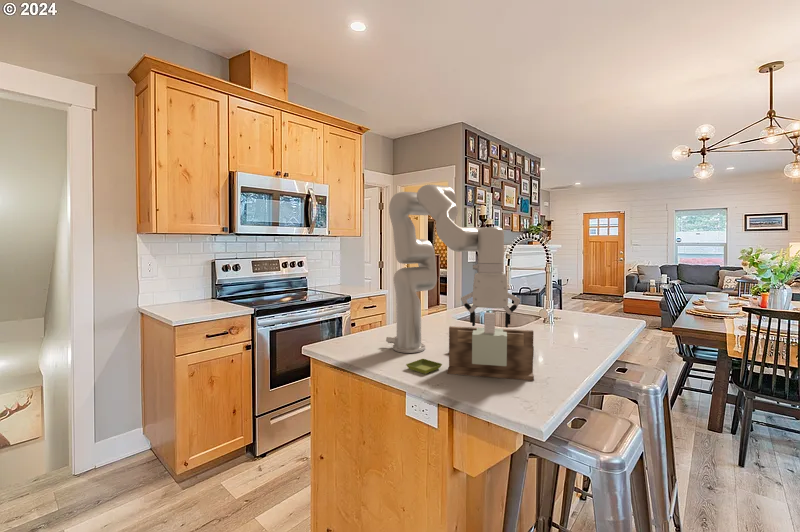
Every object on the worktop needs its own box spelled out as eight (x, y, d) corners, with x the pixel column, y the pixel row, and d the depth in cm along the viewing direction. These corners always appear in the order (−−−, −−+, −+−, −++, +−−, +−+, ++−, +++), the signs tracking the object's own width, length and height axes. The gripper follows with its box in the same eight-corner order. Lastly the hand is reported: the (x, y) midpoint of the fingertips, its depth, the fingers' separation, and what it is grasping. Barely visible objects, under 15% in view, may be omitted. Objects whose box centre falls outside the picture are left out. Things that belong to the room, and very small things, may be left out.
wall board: (447, 373, 126) (447, 330, 125) (449, 368, 131) (449, 326, 130) (533, 380, 120) (534, 334, 119) (532, 374, 125) (533, 330, 124)
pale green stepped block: (472, 363, 119) (472, 314, 118) (473, 354, 127) (474, 308, 126) (506, 366, 117) (507, 316, 115) (505, 356, 125) (506, 309, 123)
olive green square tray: (425, 376, 124) (425, 370, 124) (405, 370, 130) (405, 364, 130) (442, 370, 130) (442, 363, 130) (422, 364, 137) (422, 358, 136)
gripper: (460, 269, 116) (459, 327, 118) (521, 270, 112) (520, 330, 114) (462, 267, 124) (462, 322, 125) (520, 268, 120) (519, 324, 121)
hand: (489, 325), depth 119 cm, fingers open, 9 cm apart
